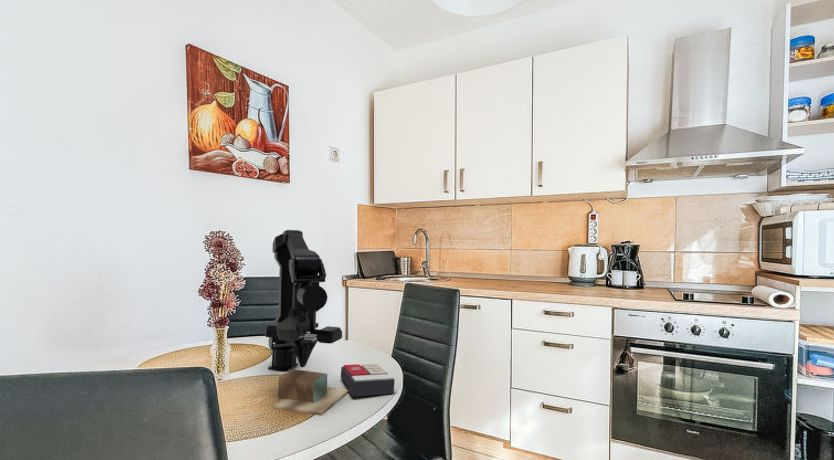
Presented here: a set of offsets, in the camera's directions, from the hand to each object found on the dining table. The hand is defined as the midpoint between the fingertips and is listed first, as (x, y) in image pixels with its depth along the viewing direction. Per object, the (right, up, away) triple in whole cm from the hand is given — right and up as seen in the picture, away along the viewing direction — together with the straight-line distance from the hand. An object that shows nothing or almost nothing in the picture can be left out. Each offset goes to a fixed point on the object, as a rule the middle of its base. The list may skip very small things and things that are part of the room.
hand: (302, 366), depth 96 cm
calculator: (+15, -8, +8) cm, 19 cm away
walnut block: (-5, -5, +1) cm, 7 cm away
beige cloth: (+3, -8, -1) cm, 8 cm away
